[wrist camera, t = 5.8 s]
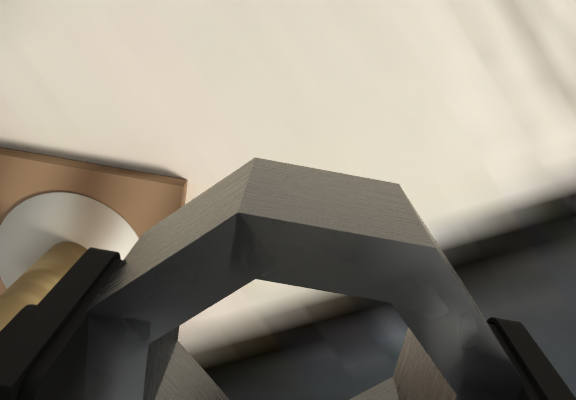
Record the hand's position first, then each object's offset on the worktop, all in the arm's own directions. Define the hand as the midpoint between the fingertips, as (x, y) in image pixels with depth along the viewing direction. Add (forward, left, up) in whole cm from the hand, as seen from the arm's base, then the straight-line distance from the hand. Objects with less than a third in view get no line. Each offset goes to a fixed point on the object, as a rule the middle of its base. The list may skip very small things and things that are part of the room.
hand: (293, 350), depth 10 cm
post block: (+12, +10, -20) cm, 25 cm away
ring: (0, 0, -1) cm, 1 cm away
